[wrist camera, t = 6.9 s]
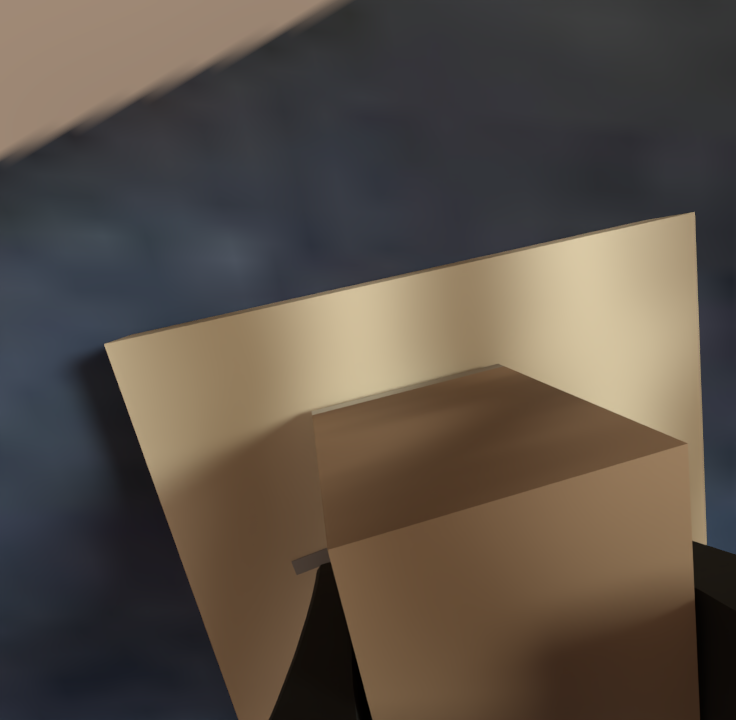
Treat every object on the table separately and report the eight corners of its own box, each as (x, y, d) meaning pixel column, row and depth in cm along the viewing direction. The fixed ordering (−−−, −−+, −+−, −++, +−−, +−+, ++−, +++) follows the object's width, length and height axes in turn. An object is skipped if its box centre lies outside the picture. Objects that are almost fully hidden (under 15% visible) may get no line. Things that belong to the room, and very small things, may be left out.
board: (646, 220, 12) (695, 211, 10) (683, 827, 17) (719, 879, 16) (131, 334, 10) (103, 344, 9) (348, 968, 15) (353, 1041, 14)
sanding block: (498, 363, 10) (687, 443, 5) (537, 637, 12) (706, 889, 7) (311, 410, 9) (327, 550, 5) (382, 691, 11) (447, 1004, 6)
